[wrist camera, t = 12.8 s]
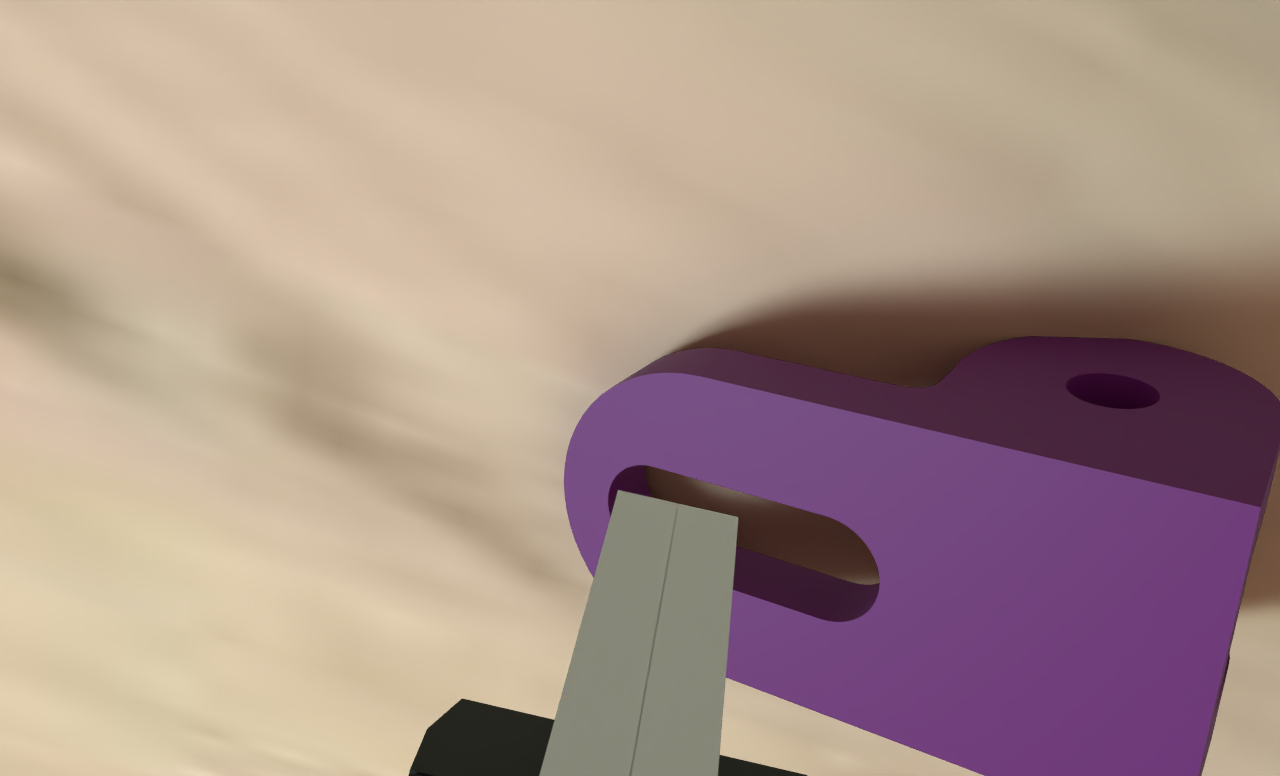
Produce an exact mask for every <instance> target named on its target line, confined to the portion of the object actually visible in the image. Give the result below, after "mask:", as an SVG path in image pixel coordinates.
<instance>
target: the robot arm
mask: <svg viewBox="0 0 1280 776" xmlns="http://www.w3.org/2000/svg"><path fill="white" fill-rule="evenodd" d="M737 529H738V517H736V516H731V515H727V514H722V513H718V512H714V511H709V510H705V509H700V508H696V507H691V506H687V505H683V504H678V503H674V502H669V501H665V500H660V499H656V498H651V497H647V496H643V495H638V494H634V493H629V492H625V491H620V490H618V492H617V496H616V500H615V503H614V507H613V510H612V514H611V518H610V521H609V525H608V529H607V532H606V536H605V539H604V543H603V547H602V550H601V554H600V558H599V561H598V565H597V568H596V572H595V576H594V579H593V583H592V587H591V590H590V594H589V597H588V601H587V605H586V608H585V612H584V616H583V619H582V623H581V626H580V630H579V634H578V637H577V641H576V645H575V648H574V652H573V655H572V659H571V663H570V666H569V670H568V674H567V677H566V681H565V684H564V688H563V692H562V695H561V699H560V702H559V706H558V710H557V713H556V717H555V720H552V719H548V718H544V717H539V716H535V715H531V714H526V713H522V712H518V711H514V710H509V709H505V708H501V707H496V706H492V705H488V704H483V703H479V702H475V701H470V700H466V699H461V700H460V701H459V702H458V703H456V704H455V705H454V706H453V707H452V708H451V709H450V710H448V711H447V712H446V713H445V714H444V715H443V716H442V717H440V718H439V719H438V720H437V721H436V722H435V723H434V724H432V725H431V726H430V727H429V728H428V729H427V731H426V733H425V735H424V738H423V740H422V743H421V745H420V747H419V750H418V752H417V755H416V757H415V759H414V762H413V764H412V766H411V769H410V773H409V776H807V775H804V774H800V773H795V772H791V771H787V770H782V769H778V768H774V767H769V766H765V765H761V764H757V763H752V762H748V761H744V760H739V759H735V758H731V757H726V756H722V755H719V754H720V742H721V729H722V717H723V704H724V692H725V679H726V667H727V654H728V642H729V629H730V617H731V604H732V592H733V579H734V567H735V554H736V542H737Z"/></svg>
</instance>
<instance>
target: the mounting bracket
mask: <svg viewBox="0 0 1280 776" xmlns="http://www.w3.org/2000/svg"><path fill="white" fill-rule="evenodd" d="M1279 450H1280V401H1279V400H1278V399H1277V397H1276V396H1275V395H1274V394H1273V393H1272V392H1271V391H1270V390H1268V389H1267V388H1266V387H1265V386H1263V385H1262V384H1261V383H1259V382H1258V381H1256V380H1254V379H1253V378H1251V377H1250V376H1248V375H1246V374H1244V373H1242V372H1240V371H1238V370H1236V369H1234V368H1232V367H1230V366H1227V365H1225V364H1223V363H1220V362H1217V361H1215V360H1212V359H1209V358H1207V357H1204V356H1201V355H1198V354H1194V353H1191V352H1188V351H1184V350H1180V349H1176V348H1172V347H1168V346H1164V345H1159V344H1154V343H1149V342H1144V341H1138V340H1131V339H1114V338H1079V337H1044V336H1029V337H1021V338H1015V339H1010V340H1005V341H1001V342H997V343H993V344H990V345H987V346H984V347H982V348H980V349H978V350H975V351H973V352H972V353H970V354H969V355H967V356H966V357H965V358H963V359H962V360H961V361H960V362H959V363H958V364H957V365H956V366H955V367H954V368H953V369H952V370H951V371H950V372H949V373H948V374H947V375H946V376H945V377H944V378H943V379H942V380H941V381H940V382H939V383H938V384H936V385H933V386H929V387H923V388H909V387H902V386H897V385H892V384H888V383H883V382H878V381H874V380H869V379H865V378H860V377H855V376H851V375H846V374H842V373H837V372H832V371H828V370H823V369H819V368H814V367H809V366H805V365H800V364H795V363H791V362H786V361H782V360H777V359H772V358H768V357H763V356H759V355H754V354H749V353H745V352H740V351H735V350H728V349H722V348H697V349H689V350H684V351H679V352H675V353H673V354H670V355H667V356H664V357H662V358H660V359H658V360H656V361H654V362H652V363H650V364H649V365H647V366H646V367H644V368H642V369H641V370H639V371H638V372H636V373H634V374H633V375H631V376H630V377H628V378H626V379H625V380H623V381H622V382H620V383H618V384H617V385H615V386H614V387H612V388H611V389H609V390H608V391H606V392H605V393H603V394H602V395H601V396H600V397H599V398H598V399H597V400H595V401H594V402H593V403H592V404H591V405H590V407H589V408H588V409H587V411H586V412H585V413H584V414H583V416H582V418H581V419H580V421H579V423H578V424H577V426H576V428H575V431H574V433H573V435H572V438H571V440H570V444H569V447H568V451H567V456H566V462H565V473H564V490H565V501H566V508H567V513H568V517H569V522H570V526H571V529H572V532H573V535H574V538H575V541H576V543H577V546H578V548H579V551H580V553H581V555H582V557H583V559H584V561H585V563H586V565H587V567H588V569H589V571H590V573H591V574H592V576H593V577H594V576H595V572H596V568H597V565H598V561H599V558H600V554H601V550H602V547H603V543H604V539H605V536H606V532H607V529H608V525H609V521H610V518H611V514H612V510H613V507H614V503H615V500H616V496H617V492H618V490H620V491H625V492H629V493H634V494H638V495H643V496H647V497H651V494H650V492H649V489H648V485H647V480H646V466H651V467H655V468H659V469H662V470H666V471H669V472H673V473H676V474H680V475H683V476H687V477H690V478H694V479H697V480H701V481H704V482H708V483H711V484H715V485H718V486H722V487H725V488H729V489H732V490H736V491H739V492H743V493H746V494H750V495H753V496H757V497H760V498H764V499H767V500H771V501H774V502H778V503H781V504H785V505H788V506H792V507H795V508H799V509H802V510H806V511H809V512H813V513H816V514H820V515H823V516H827V517H829V518H832V519H835V520H837V521H839V522H841V523H842V524H844V525H846V526H847V527H849V528H850V529H851V530H852V531H854V532H855V533H856V534H857V535H858V536H859V537H860V538H861V539H862V540H863V541H864V543H865V544H866V545H867V547H868V548H869V550H870V551H871V553H872V555H873V557H874V559H875V562H876V564H877V568H878V571H879V579H880V583H879V584H873V585H863V584H856V583H852V582H849V581H846V580H842V579H839V578H836V577H833V576H830V575H826V574H823V573H820V572H817V571H814V570H810V569H807V568H804V567H801V566H798V565H794V564H791V563H788V562H785V561H782V560H778V559H775V558H772V557H769V556H766V555H763V554H759V553H756V552H753V551H750V550H747V549H743V548H740V547H737V546H736V554H735V567H734V579H733V592H732V604H731V617H730V629H729V642H728V654H727V667H726V677H727V678H729V679H732V680H734V681H737V682H740V683H742V684H745V685H748V686H750V687H753V688H755V689H758V690H761V691H763V692H766V693H769V694H771V695H774V696H777V697H779V698H782V699H784V700H787V701H790V702H792V703H795V704H798V705H800V706H803V707H806V708H808V709H811V710H813V711H816V712H819V713H821V714H824V715H827V716H829V717H832V718H834V719H837V720H840V721H842V722H845V723H848V724H850V725H853V726H856V727H858V728H861V729H863V730H866V731H869V732H871V733H874V734H877V735H879V736H882V737H885V738H887V739H890V740H892V741H895V742H898V743H900V744H903V745H906V746H908V747H911V748H913V749H916V750H919V751H921V752H924V753H927V754H929V755H932V756H935V757H937V758H940V759H942V760H945V761H948V762H950V763H953V764H956V765H958V766H961V767H964V768H966V769H969V770H971V771H974V772H977V773H979V774H982V775H985V776H1201V775H1202V771H1203V767H1204V764H1205V760H1206V756H1207V753H1208V749H1209V745H1210V742H1211V738H1212V734H1213V729H1214V725H1215V721H1216V717H1217V713H1218V708H1219V704H1220V700H1221V696H1222V691H1223V687H1224V683H1225V679H1226V674H1227V670H1228V665H1229V659H1230V655H1229V652H1230V647H1231V643H1232V639H1233V635H1234V630H1235V626H1236V622H1237V618H1238V613H1239V609H1240V605H1241V601H1242V596H1243V592H1244V588H1245V584H1246V579H1247V575H1248V571H1249V567H1250V562H1251V558H1252V555H1253V551H1254V548H1255V544H1256V541H1257V538H1258V534H1259V531H1260V527H1261V524H1262V520H1263V517H1264V513H1265V509H1266V505H1267V501H1268V496H1269V492H1270V488H1271V484H1272V479H1273V475H1274V471H1275V467H1276V462H1277V458H1278V454H1279ZM651 498H652V497H651Z"/></svg>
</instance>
